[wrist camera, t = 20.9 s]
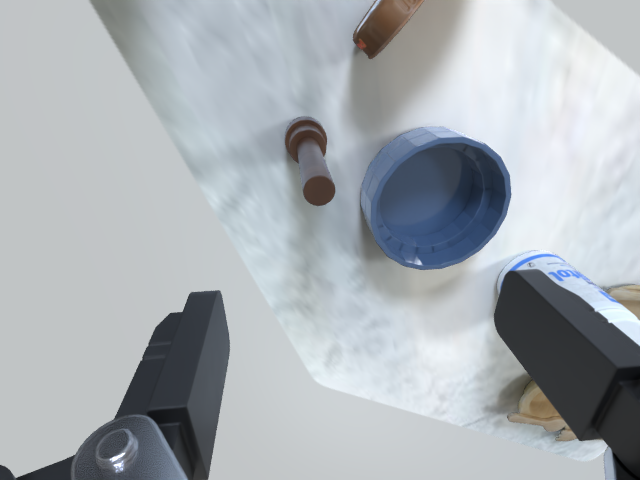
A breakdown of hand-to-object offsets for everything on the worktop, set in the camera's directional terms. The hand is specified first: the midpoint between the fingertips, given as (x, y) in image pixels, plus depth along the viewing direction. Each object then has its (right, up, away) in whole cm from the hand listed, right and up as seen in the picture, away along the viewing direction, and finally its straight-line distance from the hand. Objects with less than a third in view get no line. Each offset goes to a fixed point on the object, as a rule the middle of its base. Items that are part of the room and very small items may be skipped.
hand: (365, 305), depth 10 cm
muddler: (-3, +13, +29) cm, 32 cm away
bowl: (+11, +8, +34) cm, 36 cm away
